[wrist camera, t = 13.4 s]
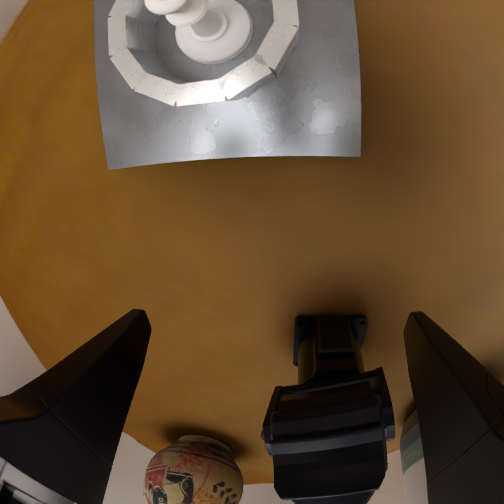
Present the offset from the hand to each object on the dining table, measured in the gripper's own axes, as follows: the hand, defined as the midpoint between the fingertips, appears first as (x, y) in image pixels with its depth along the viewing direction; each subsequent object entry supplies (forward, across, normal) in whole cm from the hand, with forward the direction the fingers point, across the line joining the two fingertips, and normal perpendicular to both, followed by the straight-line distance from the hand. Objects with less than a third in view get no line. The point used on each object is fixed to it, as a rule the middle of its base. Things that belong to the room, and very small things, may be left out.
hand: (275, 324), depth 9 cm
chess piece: (+13, +4, -11) cm, 18 cm away
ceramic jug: (+12, +14, +42) cm, 46 cm away
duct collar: (+14, +4, -12) cm, 18 cm away
